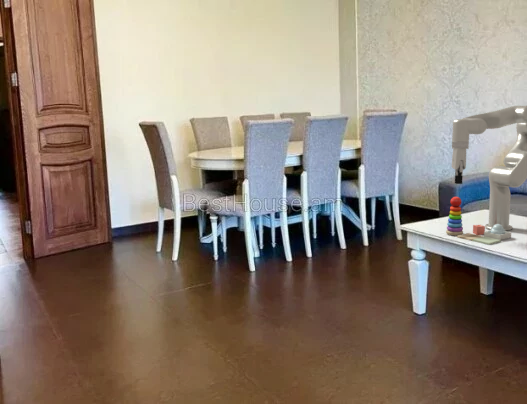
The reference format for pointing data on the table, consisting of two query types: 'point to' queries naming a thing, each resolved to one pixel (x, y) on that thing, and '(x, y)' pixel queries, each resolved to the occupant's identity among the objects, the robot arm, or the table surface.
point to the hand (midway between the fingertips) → (458, 183)
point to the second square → (486, 240)
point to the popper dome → (498, 229)
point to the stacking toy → (455, 218)
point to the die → (478, 229)
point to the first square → (469, 236)
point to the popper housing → (496, 236)
